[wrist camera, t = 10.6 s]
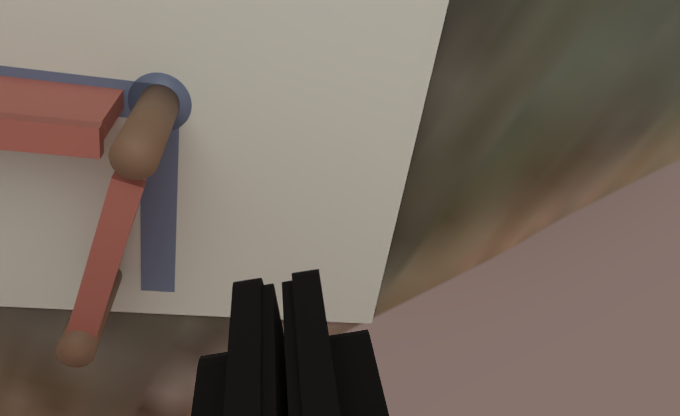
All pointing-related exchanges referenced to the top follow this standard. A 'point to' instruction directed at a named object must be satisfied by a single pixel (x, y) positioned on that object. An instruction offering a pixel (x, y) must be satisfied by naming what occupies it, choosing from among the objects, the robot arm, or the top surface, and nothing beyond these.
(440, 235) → the top surface
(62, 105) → the fence fixed
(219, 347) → the top surface
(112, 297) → the fence panel
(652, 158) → the top surface
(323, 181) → the card
